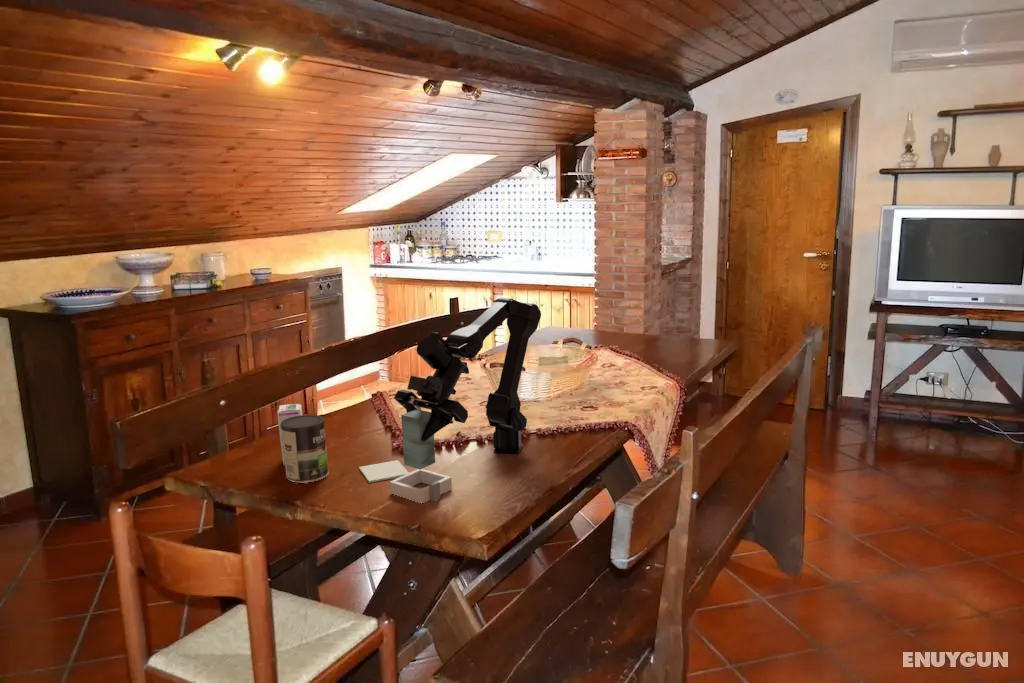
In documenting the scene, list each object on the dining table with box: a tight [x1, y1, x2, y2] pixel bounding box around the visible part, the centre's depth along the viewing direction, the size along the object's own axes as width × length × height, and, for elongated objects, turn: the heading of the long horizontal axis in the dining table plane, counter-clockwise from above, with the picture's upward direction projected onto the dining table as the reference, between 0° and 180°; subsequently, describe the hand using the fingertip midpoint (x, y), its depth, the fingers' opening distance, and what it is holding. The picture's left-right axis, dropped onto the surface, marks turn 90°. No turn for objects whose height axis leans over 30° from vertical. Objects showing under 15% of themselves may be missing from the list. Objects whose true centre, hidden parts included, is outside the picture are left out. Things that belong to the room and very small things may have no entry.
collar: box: [389, 468, 453, 505], centre depth 181 cm, size 10×11×4 cm
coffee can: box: [280, 414, 330, 484], centre depth 192 cm, size 10×10×14 cm
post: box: [400, 409, 436, 470], centre depth 179 cm, size 5×5×12 cm
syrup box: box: [277, 403, 303, 466], centre depth 202 cm, size 6×6×14 cm
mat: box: [358, 459, 410, 484], centre depth 194 cm, size 10×10×1 cm
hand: (414, 438), depth 178 cm, fingers closed on post, 5 cm apart
